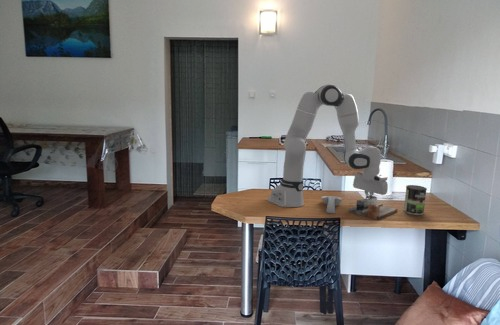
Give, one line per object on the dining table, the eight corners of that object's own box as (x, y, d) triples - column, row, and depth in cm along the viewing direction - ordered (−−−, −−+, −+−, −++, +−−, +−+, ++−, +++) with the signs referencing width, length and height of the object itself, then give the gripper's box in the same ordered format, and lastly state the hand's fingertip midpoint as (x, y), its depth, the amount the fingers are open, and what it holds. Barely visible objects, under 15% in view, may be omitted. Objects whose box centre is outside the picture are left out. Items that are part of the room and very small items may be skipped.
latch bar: (361, 208, 200) (361, 201, 199) (354, 206, 203) (355, 199, 202) (377, 203, 210) (377, 196, 210) (370, 201, 213) (371, 195, 213)
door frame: (348, 211, 203) (349, 200, 202) (368, 204, 218) (369, 193, 217) (378, 220, 191) (379, 207, 190) (397, 211, 206) (398, 200, 205)
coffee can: (427, 214, 203) (431, 189, 200) (411, 215, 200) (414, 190, 197) (414, 208, 213) (417, 184, 210) (399, 209, 210) (402, 185, 207)
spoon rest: (321, 200, 223) (321, 189, 222) (341, 202, 221) (342, 190, 220) (319, 213, 200) (320, 200, 199) (342, 215, 198) (343, 202, 197)
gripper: (351, 172, 216) (349, 195, 218) (383, 179, 200) (381, 204, 203) (358, 170, 220) (356, 193, 222) (390, 177, 204) (387, 202, 207)
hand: (368, 198), depth 212 cm, fingers closed
